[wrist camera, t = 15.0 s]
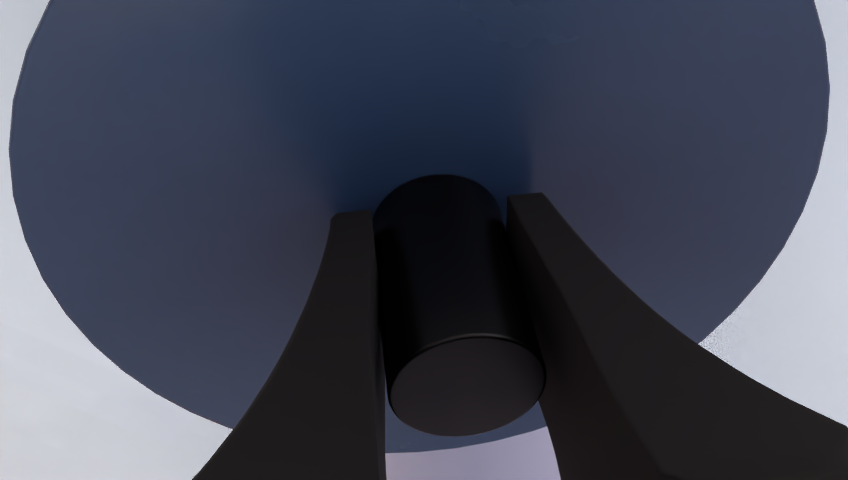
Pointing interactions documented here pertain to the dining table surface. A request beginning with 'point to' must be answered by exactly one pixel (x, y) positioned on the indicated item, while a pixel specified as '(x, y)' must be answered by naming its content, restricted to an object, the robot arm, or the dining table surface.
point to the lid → (403, 177)
